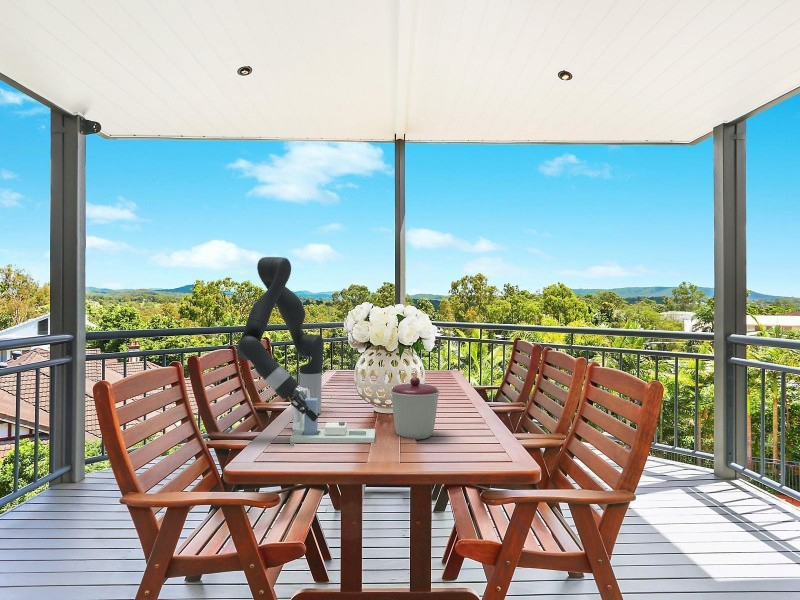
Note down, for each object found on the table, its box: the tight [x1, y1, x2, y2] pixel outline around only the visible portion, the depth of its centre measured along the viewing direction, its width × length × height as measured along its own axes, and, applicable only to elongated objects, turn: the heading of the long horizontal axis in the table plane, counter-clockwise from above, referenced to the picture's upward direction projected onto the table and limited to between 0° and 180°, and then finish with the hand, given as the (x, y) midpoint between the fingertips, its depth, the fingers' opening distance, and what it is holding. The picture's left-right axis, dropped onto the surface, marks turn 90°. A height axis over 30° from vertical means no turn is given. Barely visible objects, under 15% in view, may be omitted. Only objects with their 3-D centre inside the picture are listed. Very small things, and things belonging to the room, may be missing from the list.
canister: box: [389, 377, 441, 441], centre depth 189 cm, size 18×18×21 cm
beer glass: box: [290, 386, 310, 431], centre depth 196 cm, size 7×7×15 cm
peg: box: [304, 398, 319, 435], centre depth 182 cm, size 4×4×12 cm
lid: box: [324, 421, 348, 435], centre depth 182 cm, size 7×7×3 cm
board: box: [289, 428, 376, 445], centre depth 182 cm, size 12×28×2 cm, turn 92°
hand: (316, 417), depth 182 cm, fingers closed on peg, 4 cm apart
